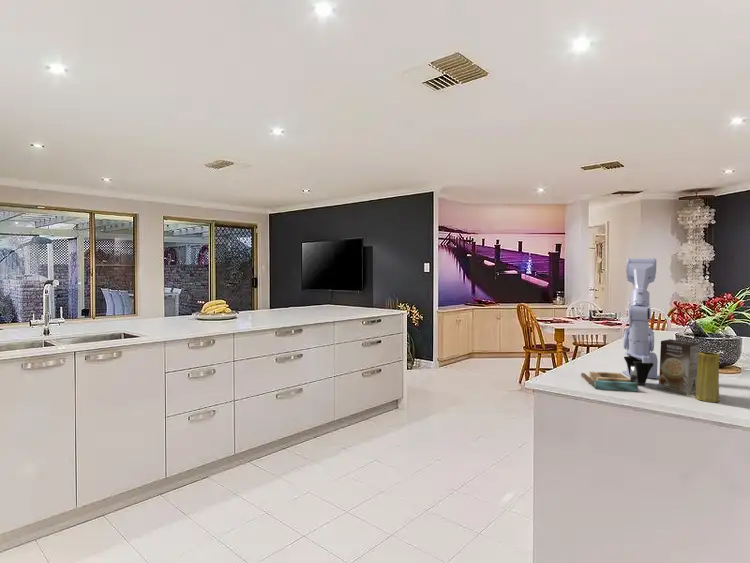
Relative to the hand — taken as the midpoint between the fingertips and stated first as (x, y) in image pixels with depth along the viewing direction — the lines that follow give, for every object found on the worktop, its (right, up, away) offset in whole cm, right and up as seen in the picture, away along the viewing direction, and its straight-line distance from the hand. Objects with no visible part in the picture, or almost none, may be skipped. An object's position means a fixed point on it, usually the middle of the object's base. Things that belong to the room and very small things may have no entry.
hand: (637, 379), depth 159 cm
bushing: (0, -1, 0) cm, 1 cm away
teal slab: (-10, -1, 0) cm, 10 cm away
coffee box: (+9, -2, -8) cm, 12 cm away
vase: (+11, -2, -18) cm, 21 cm away
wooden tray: (-10, -1, -1) cm, 11 cm away
